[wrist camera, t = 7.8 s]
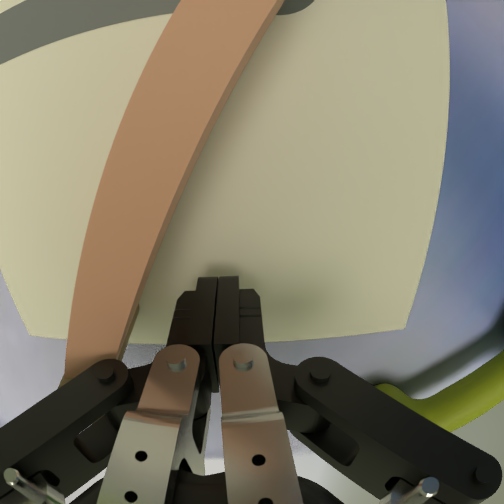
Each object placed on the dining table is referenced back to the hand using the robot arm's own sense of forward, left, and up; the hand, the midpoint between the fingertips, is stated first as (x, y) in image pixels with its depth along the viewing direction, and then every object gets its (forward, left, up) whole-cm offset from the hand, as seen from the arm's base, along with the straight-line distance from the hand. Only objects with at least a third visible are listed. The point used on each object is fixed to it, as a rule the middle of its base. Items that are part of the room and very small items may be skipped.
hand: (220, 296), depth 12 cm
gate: (+2, -4, -1) cm, 5 cm away
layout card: (+1, -12, -2) cm, 12 cm away
